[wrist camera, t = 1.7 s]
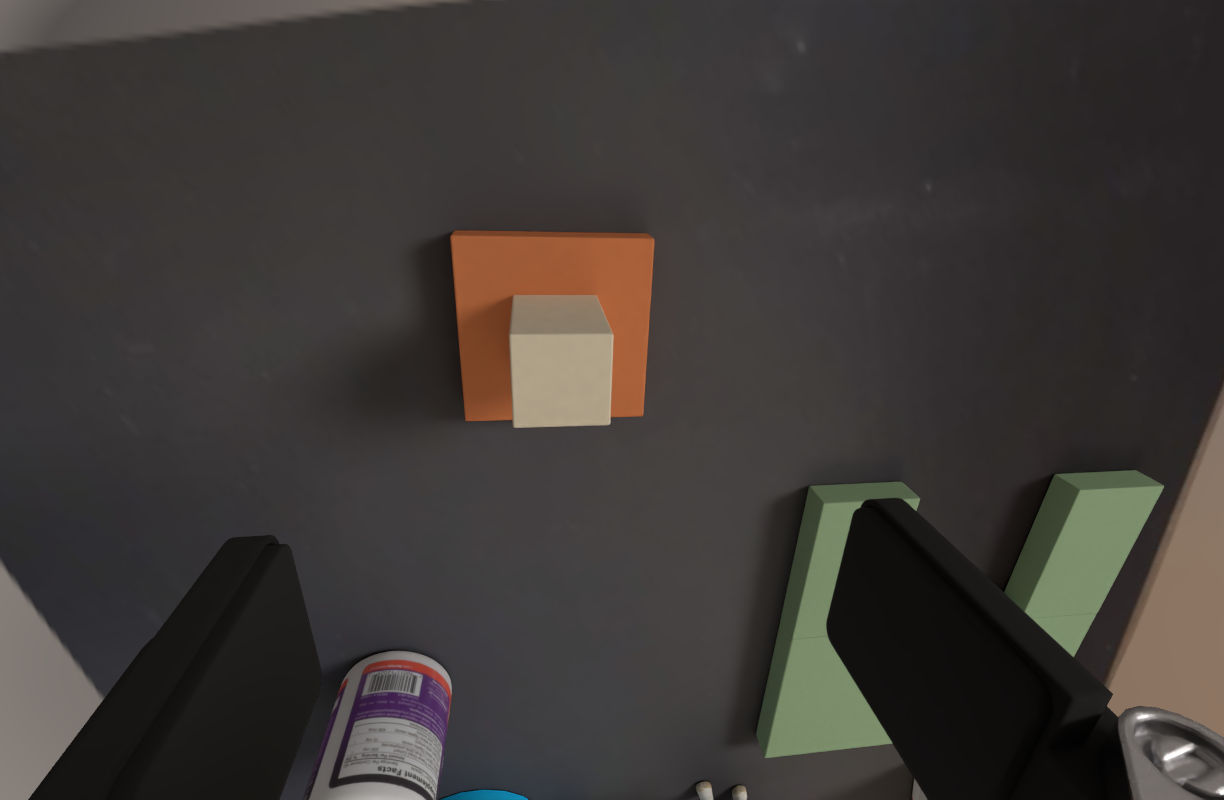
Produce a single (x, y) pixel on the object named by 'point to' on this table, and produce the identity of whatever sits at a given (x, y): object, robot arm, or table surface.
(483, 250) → the terracotta pad
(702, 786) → the bull figurine
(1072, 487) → the green mat
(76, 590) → the table surface
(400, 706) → the pill bottle
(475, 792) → the mug
